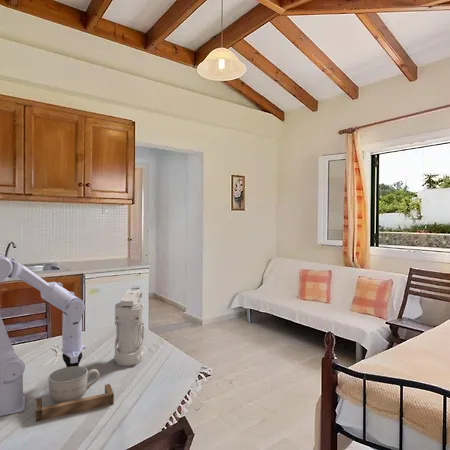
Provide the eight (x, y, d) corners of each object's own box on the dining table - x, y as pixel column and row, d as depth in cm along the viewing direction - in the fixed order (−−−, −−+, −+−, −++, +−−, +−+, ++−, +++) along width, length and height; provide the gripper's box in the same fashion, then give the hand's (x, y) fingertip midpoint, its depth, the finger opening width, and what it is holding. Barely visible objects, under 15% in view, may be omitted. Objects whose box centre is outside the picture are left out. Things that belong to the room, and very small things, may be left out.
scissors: (81, 344, 145) (62, 366, 125) (81, 345, 145) (62, 368, 126) (54, 344, 145) (31, 366, 125) (54, 346, 145) (31, 368, 125)
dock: (36, 422, 94) (35, 411, 94) (36, 409, 100) (36, 398, 100) (113, 404, 103) (113, 394, 103) (109, 393, 109) (109, 383, 109)
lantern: (139, 366, 127) (140, 298, 126) (110, 366, 127) (111, 297, 126) (147, 351, 140) (148, 289, 139) (121, 351, 140) (121, 288, 139)
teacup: (44, 411, 99) (44, 383, 98) (52, 391, 109) (52, 366, 109) (97, 405, 103) (97, 378, 102) (100, 386, 113) (100, 361, 113)
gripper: (88, 340, 107) (88, 383, 108) (83, 325, 120) (83, 364, 121) (62, 343, 104) (63, 388, 105) (60, 327, 117) (60, 368, 117)
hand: (72, 376), depth 112 cm, fingers closed
